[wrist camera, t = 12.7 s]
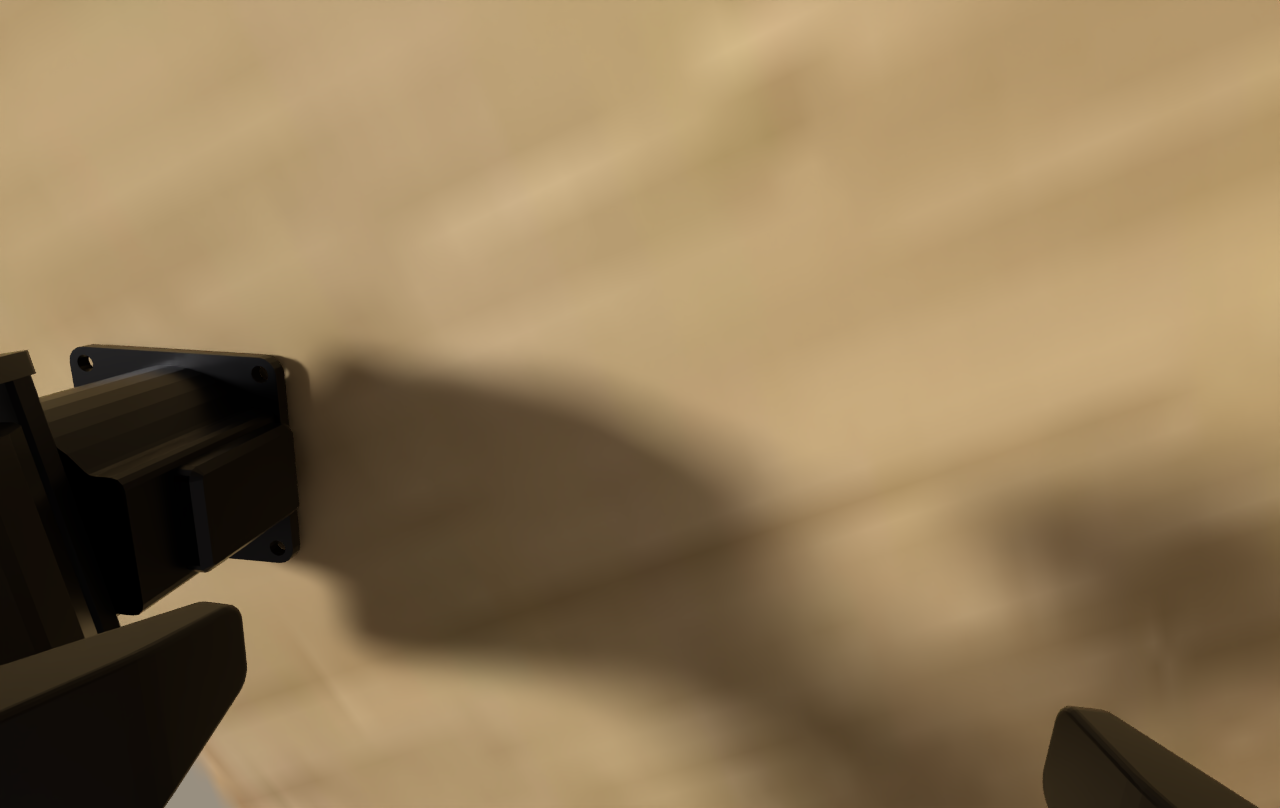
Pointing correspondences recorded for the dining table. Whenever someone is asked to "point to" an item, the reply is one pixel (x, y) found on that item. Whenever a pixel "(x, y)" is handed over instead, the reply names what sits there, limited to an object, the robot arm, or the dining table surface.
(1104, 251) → the dining table surface
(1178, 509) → the dining table surface
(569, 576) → the dining table surface
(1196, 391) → the dining table surface
